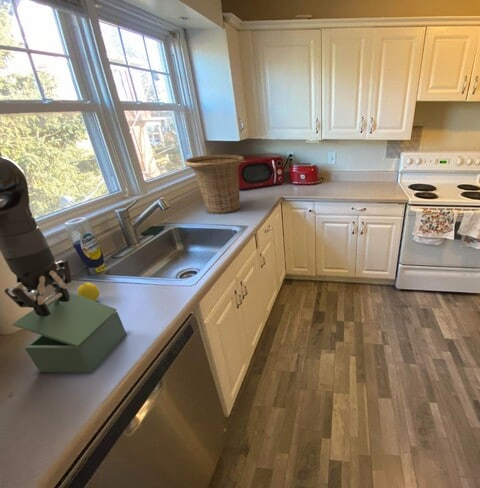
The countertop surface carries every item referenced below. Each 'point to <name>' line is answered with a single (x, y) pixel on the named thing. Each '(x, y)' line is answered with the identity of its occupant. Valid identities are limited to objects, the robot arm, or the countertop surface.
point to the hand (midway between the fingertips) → (55, 307)
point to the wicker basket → (218, 181)
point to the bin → (77, 349)
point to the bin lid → (67, 319)
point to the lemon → (88, 291)
